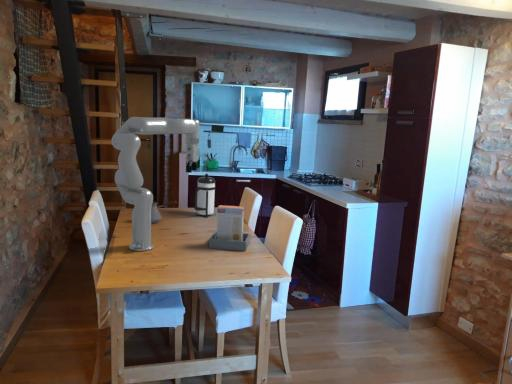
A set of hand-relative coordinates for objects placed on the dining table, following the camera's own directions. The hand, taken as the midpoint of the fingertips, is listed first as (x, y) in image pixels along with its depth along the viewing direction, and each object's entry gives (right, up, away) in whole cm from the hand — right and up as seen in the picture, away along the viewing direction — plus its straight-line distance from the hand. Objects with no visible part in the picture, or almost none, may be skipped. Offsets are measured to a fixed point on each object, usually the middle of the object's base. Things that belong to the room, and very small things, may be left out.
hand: (191, 171), depth 229 cm
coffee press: (+1, -29, +54) cm, 61 cm away
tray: (+23, -41, -8) cm, 48 cm away
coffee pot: (-25, -32, +30) cm, 50 cm away
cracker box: (+22, -41, -8) cm, 47 cm away
